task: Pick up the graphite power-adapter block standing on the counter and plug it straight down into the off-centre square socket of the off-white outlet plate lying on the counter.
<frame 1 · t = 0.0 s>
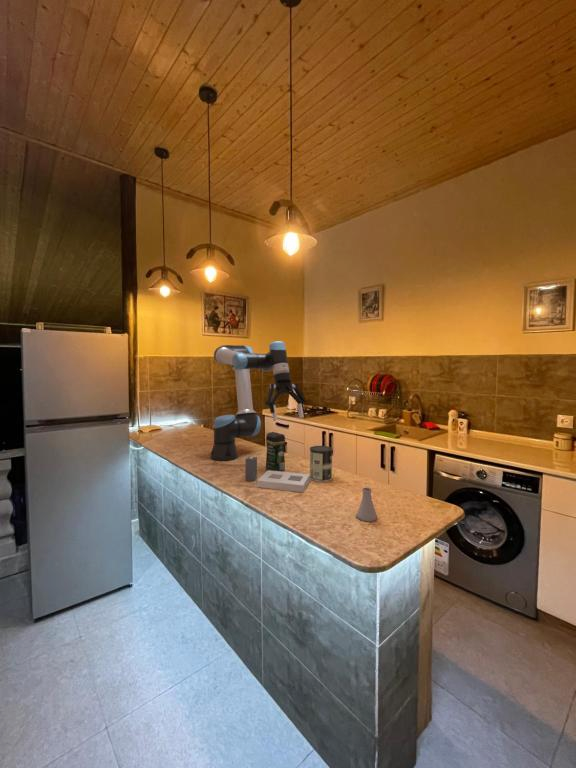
hand: (288, 419, 147), 28 cm above the countertop, tool tilted 20°, fingers open, 13 cm apart
adapter: (251, 479, 149), on the countertop
outlet plate: (284, 484, 144), on the countertop
coffee can: (320, 478, 152), on the countertop
coffee jar: (275, 469, 164), on the countertop
flask: (366, 517, 113), on the countertop
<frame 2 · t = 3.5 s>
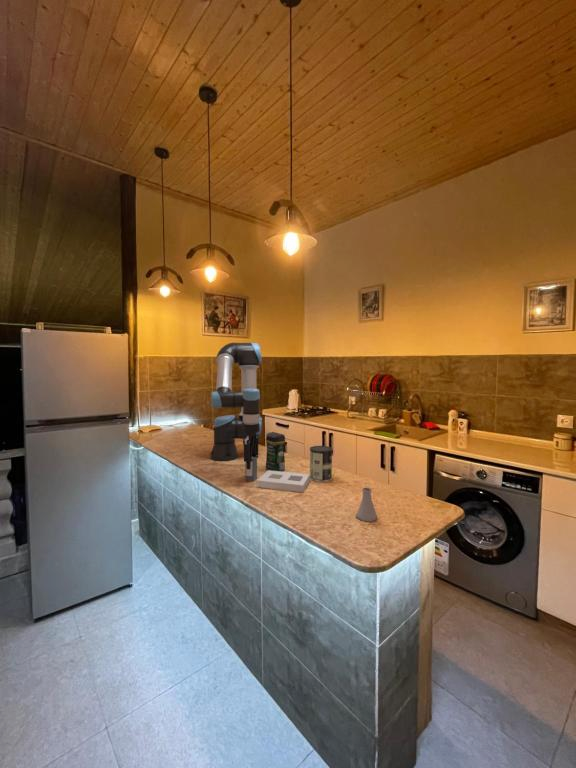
hand: (251, 473, 149), 3 cm above the countertop, tool pointing down, fingers closed on adapter, 4 cm apart
adapter: (251, 479, 149), on the countertop, touching gripper
everything else where it was.
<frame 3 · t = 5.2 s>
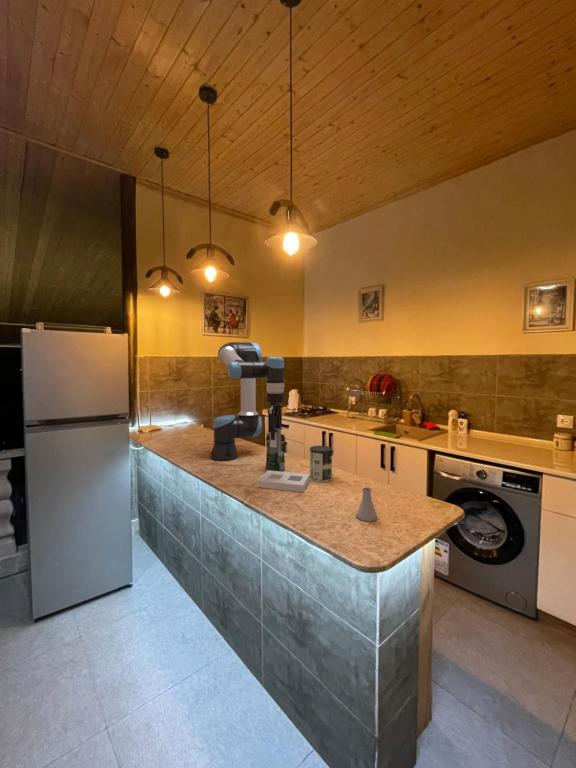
hand: (275, 445, 144), 17 cm above the countertop, tool pointing down, fingers closed on adapter, 4 cm apart
adapter: (275, 451, 144), point 14 cm above the countertop, touching gripper
everything else where it was.
when the fingers open (4 cm above the countertop, at t = 7.2 s): adapter drops 2 cm, resting in outlet plate.
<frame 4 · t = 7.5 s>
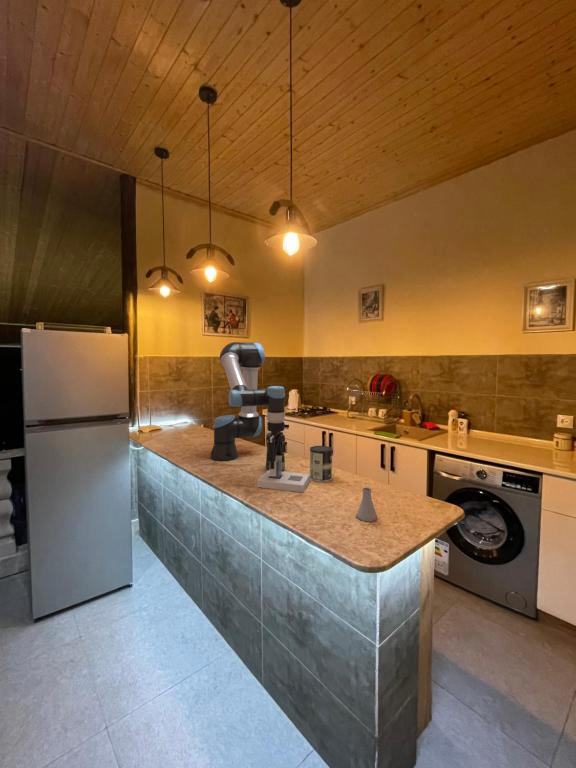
hand: (275, 472, 145), 5 cm above the countertop, tool pointing down, fingers open, 7 cm apart
adapter: (275, 483, 145), resting in outlet plate
everything else where it was.
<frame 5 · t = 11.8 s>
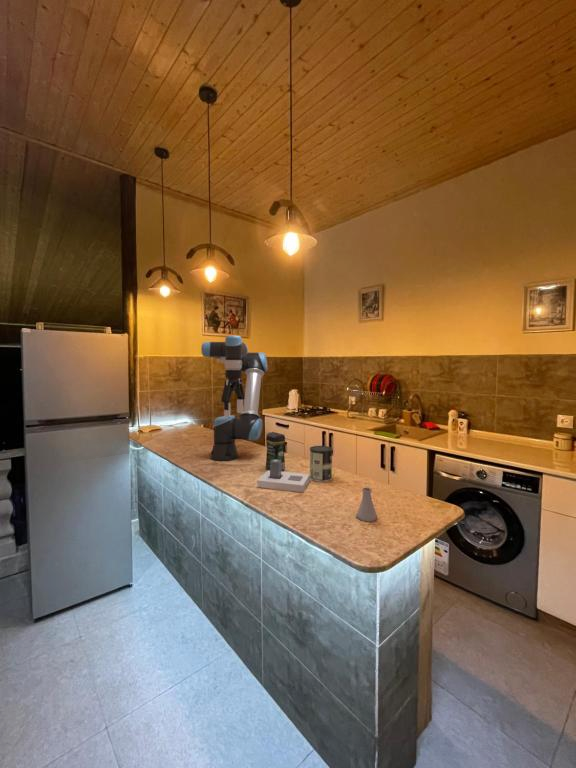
hand: (233, 415, 153), 29 cm above the countertop, tool pointing down, fingers open, 13 cm apart
nothing on the countertop moved.
at the end: adapter 0.0 cm from the target spot on the outlet plate, point 0.0 cm above the outlet plate's base; adapter tilted 0°; the gripper is holding nothing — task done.
